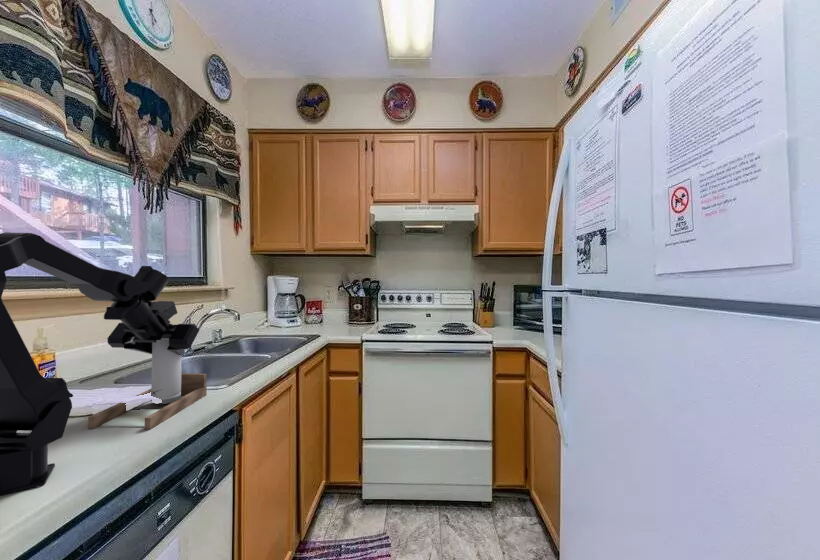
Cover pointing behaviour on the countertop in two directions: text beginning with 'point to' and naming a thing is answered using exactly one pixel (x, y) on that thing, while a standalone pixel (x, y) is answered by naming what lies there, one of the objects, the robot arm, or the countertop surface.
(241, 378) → the countertop surface
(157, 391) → the travel mug
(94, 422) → the shelf lane
